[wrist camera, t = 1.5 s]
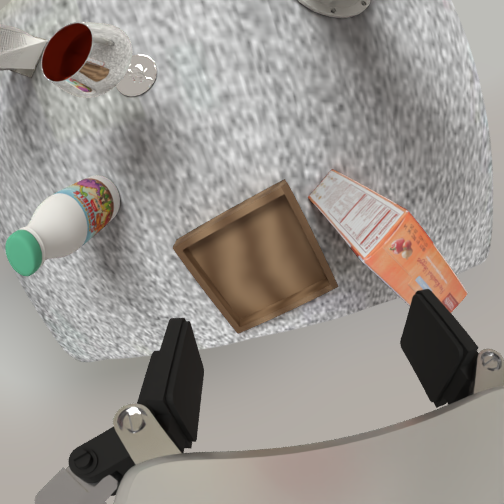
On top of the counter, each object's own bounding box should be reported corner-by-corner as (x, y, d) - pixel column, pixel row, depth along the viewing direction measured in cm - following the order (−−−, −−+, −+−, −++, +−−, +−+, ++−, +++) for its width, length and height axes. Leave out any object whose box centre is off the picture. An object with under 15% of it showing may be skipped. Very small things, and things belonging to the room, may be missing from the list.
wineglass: (164, 45, 29) (111, -1, 13) (163, 98, 33) (103, 84, 17) (111, 55, 29) (36, 27, 13) (109, 106, 33) (29, 105, 16)
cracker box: (391, 224, 42) (471, 294, 23) (367, 251, 44) (433, 335, 25) (333, 165, 38) (411, 209, 19) (305, 196, 40) (360, 266, 21)
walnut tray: (284, 179, 38) (287, 183, 36) (333, 276, 45) (338, 286, 43) (176, 239, 42) (172, 247, 39) (238, 322, 49) (237, 333, 46)
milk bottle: (98, 231, 41) (27, 302, 23) (71, 194, 38) (-13, 246, 20) (130, 204, 39) (58, 268, 21) (102, 164, 36) (12, 203, 18)
